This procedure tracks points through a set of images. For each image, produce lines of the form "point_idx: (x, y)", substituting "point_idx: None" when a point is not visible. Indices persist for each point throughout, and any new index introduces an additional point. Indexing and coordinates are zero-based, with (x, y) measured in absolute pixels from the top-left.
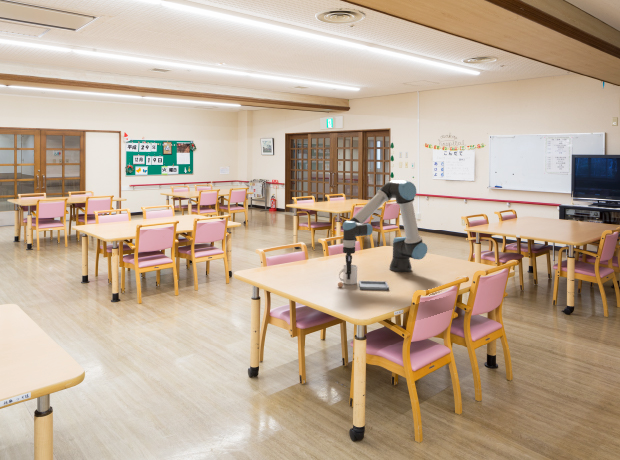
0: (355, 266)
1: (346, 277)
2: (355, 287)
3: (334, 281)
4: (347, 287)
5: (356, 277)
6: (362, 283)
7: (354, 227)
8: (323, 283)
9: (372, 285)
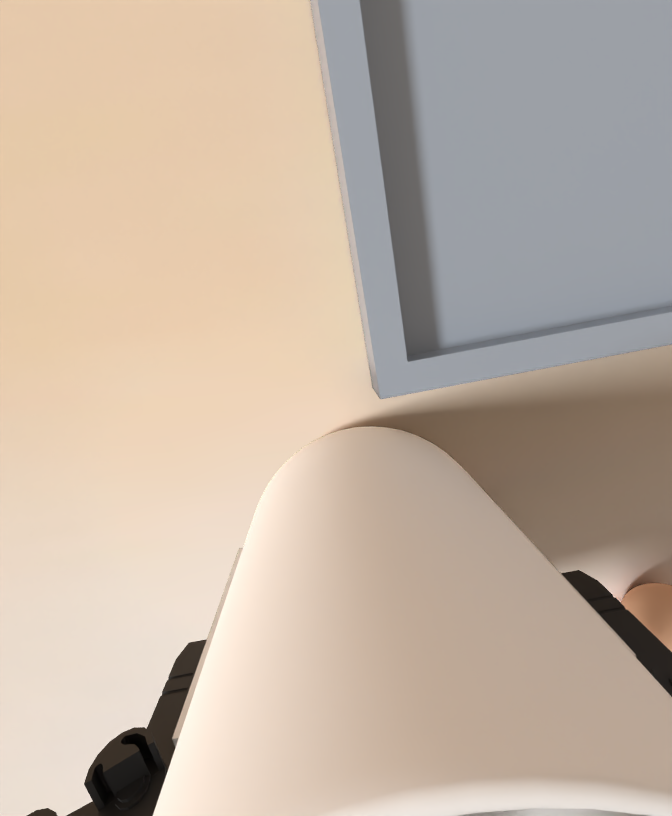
0: (216, 813)
1: None
2: (623, 404)
3: None
4: (632, 513)
5: (431, 468)
6: (420, 316)
7: None
8: None
9: (537, 84)
